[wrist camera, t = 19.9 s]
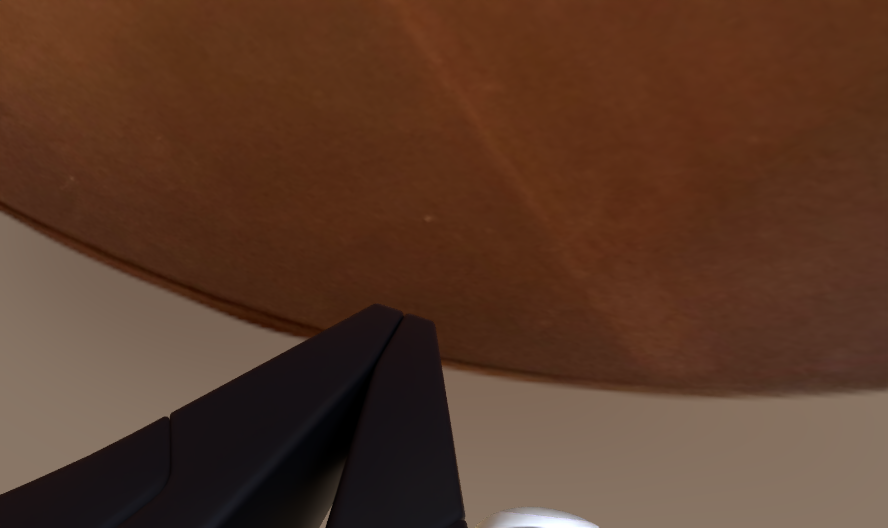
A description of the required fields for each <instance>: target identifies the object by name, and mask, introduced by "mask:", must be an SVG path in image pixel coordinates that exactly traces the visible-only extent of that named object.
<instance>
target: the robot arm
mask: <svg viewBox="0 0 888 528" xmlns="http://www.w3.org/2000/svg"><path fill="white" fill-rule="evenodd" d="M331 506H332V508H331V511H330V515H329V518H328V521H327V524H326V528H468V527H467V523H466V521H465V520H464V519H465V511H464V504H463V498H462V492H461V485H460V479H459V473H458V466H457V460H456V454H455V448H454V441H453V435H452V428H451V422H450V416H449V410H448V404H447V397H446V391H445V384H444V378H443V372H442V365H441V359H440V353H439V346H438V340H437V334H436V327H435V324H434V322H433V321H431V320H428V319H425V318H422V317H419V316H415V315H412V314H406V315H405V316H404V315H403V313H402V311H400V310H397V309H394V308H391V307H388V306H385V305H381V304H373V305H371V306H369V307H367V308H365V309H364V310H362V311H360V312H358V313H356V314H354V315H352V316H351V317H349V318H347V319H345V320H343V321H341V322H339V323H338V324H336V325H334V326H332V327H330V328H328V329H326V330H325V331H323V332H321V333H319V334H317V335H315V336H313V337H312V338H310V339H308V340H306V341H304V342H302V343H300V344H299V345H297V346H295V347H293V348H291V349H289V350H287V351H286V352H284V353H282V354H280V355H278V356H276V357H274V358H273V359H271V360H269V361H267V362H265V363H263V364H261V365H259V366H258V367H256V368H254V369H252V370H250V371H248V372H246V373H245V374H243V375H241V376H239V377H237V378H235V379H234V380H232V381H230V382H228V383H226V384H224V385H222V386H220V387H219V388H217V389H215V390H213V391H211V392H209V393H208V394H206V395H204V396H202V397H200V398H198V399H196V400H194V401H193V402H191V403H189V404H187V405H185V406H183V407H181V408H180V409H178V410H176V411H174V412H172V413H171V414H170V419H169V418H168V417H162V418H161V419H159V420H157V421H155V422H153V423H151V424H149V425H147V426H146V427H144V428H142V429H140V430H138V431H136V432H134V433H133V434H130V435H128V436H126V437H124V438H123V439H120V440H119V441H117V442H115V443H113V444H111V445H109V446H107V447H105V448H103V449H101V450H99V451H97V452H95V453H93V454H91V455H89V456H87V457H85V458H82V459H80V460H78V461H76V462H73V463H71V464H69V465H67V466H65V467H63V468H60V469H58V470H56V471H54V472H51V473H49V474H47V475H45V476H43V477H40V478H38V479H36V480H34V481H31V482H29V483H27V484H24V485H22V486H20V487H18V488H15V489H13V490H10V491H8V492H6V493H4V494H1V495H0V528H319V527H320V525H321V524H322V522H323V520H324V518H325V516H326V515H327V512H328V511H329V509H330V507H331Z"/></svg>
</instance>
